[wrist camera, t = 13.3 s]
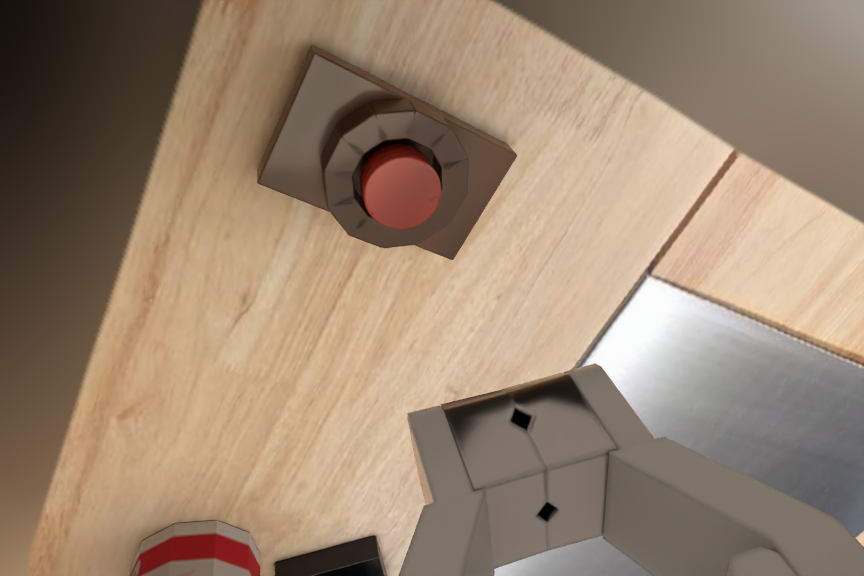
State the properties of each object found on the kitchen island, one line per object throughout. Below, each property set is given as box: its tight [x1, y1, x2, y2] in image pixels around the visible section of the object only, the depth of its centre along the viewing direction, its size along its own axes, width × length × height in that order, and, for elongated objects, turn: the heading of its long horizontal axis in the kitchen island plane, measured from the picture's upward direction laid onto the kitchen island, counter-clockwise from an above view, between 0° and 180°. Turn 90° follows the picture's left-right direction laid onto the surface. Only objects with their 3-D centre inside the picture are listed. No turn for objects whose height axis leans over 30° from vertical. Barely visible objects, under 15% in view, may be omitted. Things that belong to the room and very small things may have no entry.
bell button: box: [359, 144, 441, 229], centre depth 26 cm, size 3×3×2 cm
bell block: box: [257, 45, 517, 260], centre depth 27 cm, size 10×6×3 cm, turn 60°
